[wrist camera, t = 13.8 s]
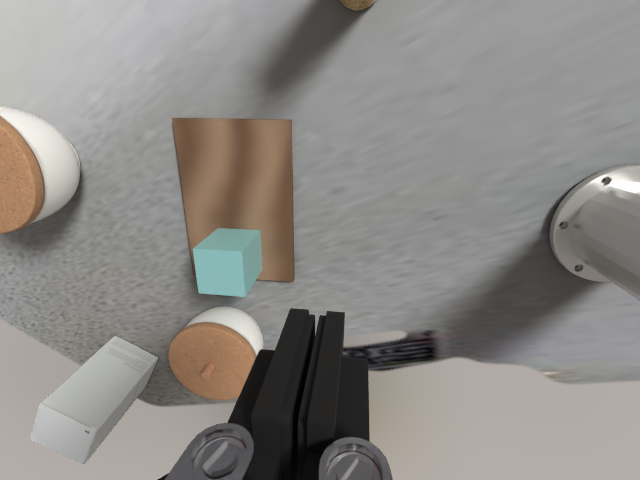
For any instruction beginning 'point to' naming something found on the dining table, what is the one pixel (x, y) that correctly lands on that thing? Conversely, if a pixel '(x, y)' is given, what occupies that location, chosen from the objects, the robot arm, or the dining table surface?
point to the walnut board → (239, 184)
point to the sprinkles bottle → (357, 4)
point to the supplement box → (93, 400)
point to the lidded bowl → (33, 169)
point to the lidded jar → (216, 352)
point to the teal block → (228, 262)
